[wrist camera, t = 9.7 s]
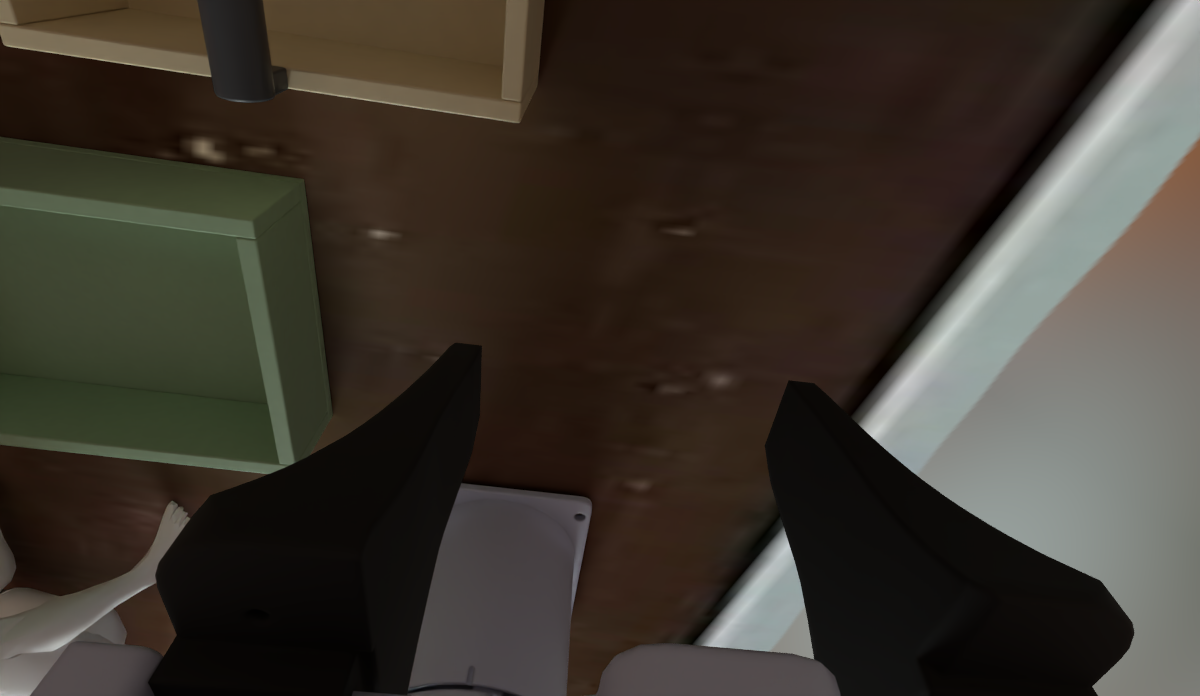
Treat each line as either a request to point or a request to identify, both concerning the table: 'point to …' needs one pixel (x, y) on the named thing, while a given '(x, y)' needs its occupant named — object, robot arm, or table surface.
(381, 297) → the table surface
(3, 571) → the person figurine
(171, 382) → the sage bin
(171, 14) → the cream bin
